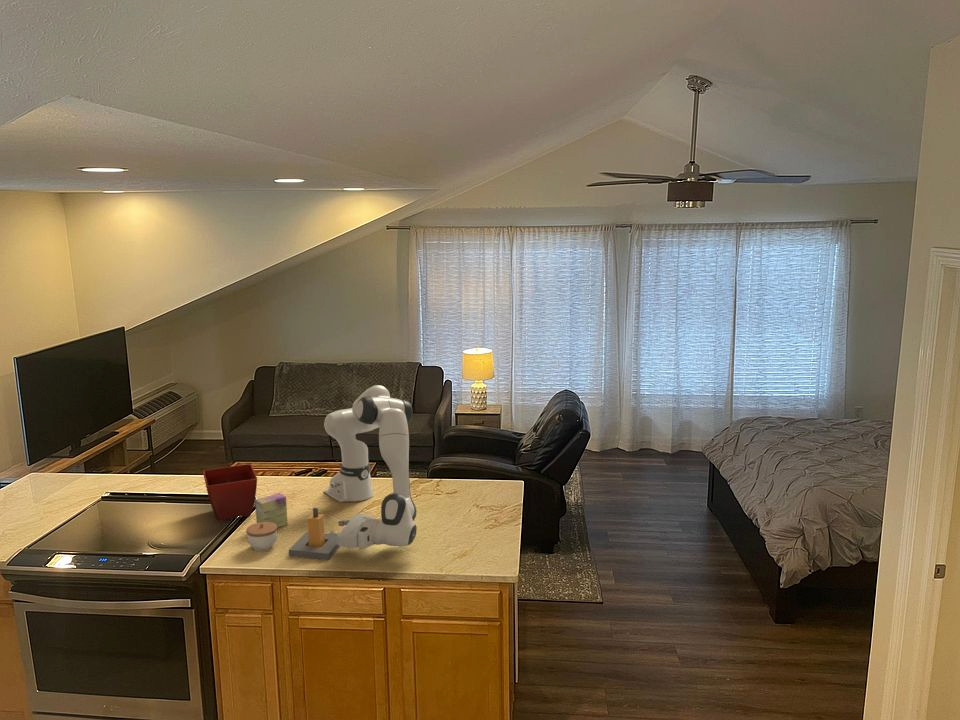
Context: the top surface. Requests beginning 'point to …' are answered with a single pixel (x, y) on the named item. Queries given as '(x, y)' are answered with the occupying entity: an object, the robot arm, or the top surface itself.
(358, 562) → the top surface
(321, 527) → the plug
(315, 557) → the socket
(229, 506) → the plant pot
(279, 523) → the box
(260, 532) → the lidded jar
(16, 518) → the top surface
